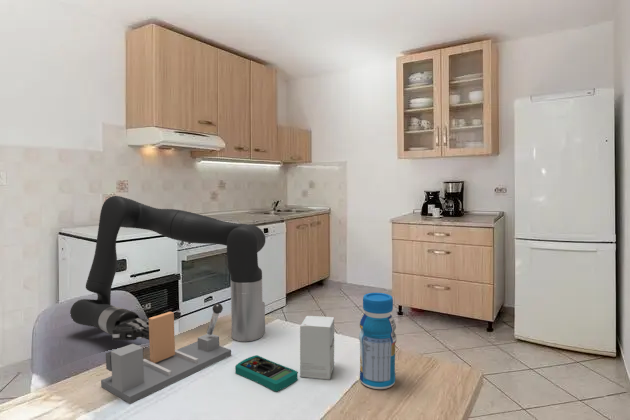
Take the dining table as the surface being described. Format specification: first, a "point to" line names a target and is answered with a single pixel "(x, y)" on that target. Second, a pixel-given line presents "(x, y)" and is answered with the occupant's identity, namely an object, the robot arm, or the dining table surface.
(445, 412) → the dining table surface
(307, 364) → the supplement box
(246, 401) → the dining table surface
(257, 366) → the digital multimeter
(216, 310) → the toggle lever
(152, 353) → the tan upright board
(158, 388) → the console
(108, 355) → the push button
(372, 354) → the beverage bottle
